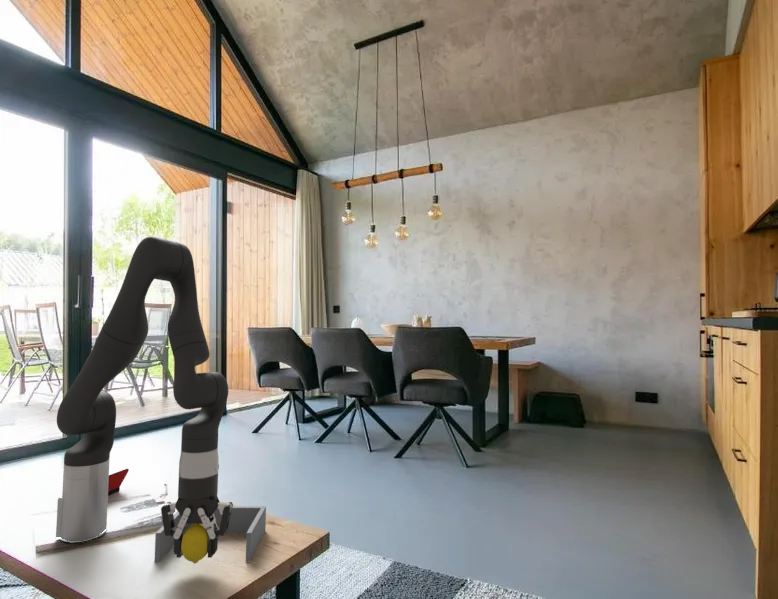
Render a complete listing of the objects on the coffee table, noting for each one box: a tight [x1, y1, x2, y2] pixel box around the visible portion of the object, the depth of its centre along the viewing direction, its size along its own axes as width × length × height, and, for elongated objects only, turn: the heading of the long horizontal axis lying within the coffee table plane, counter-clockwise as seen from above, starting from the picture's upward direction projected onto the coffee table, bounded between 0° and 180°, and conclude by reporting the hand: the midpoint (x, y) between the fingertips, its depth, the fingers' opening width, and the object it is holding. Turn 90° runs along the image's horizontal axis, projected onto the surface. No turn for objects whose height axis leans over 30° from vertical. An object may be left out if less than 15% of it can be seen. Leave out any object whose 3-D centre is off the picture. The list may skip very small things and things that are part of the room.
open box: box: [153, 505, 267, 563], centre depth 110 cm, size 20×15×6 cm
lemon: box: [181, 523, 210, 564], centre depth 98 cm, size 6×6×8 cm
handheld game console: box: [108, 468, 130, 497], centre depth 138 cm, size 12×11×7 cm
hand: (195, 555), depth 98 cm, fingers closed on lemon, 5 cm apart
